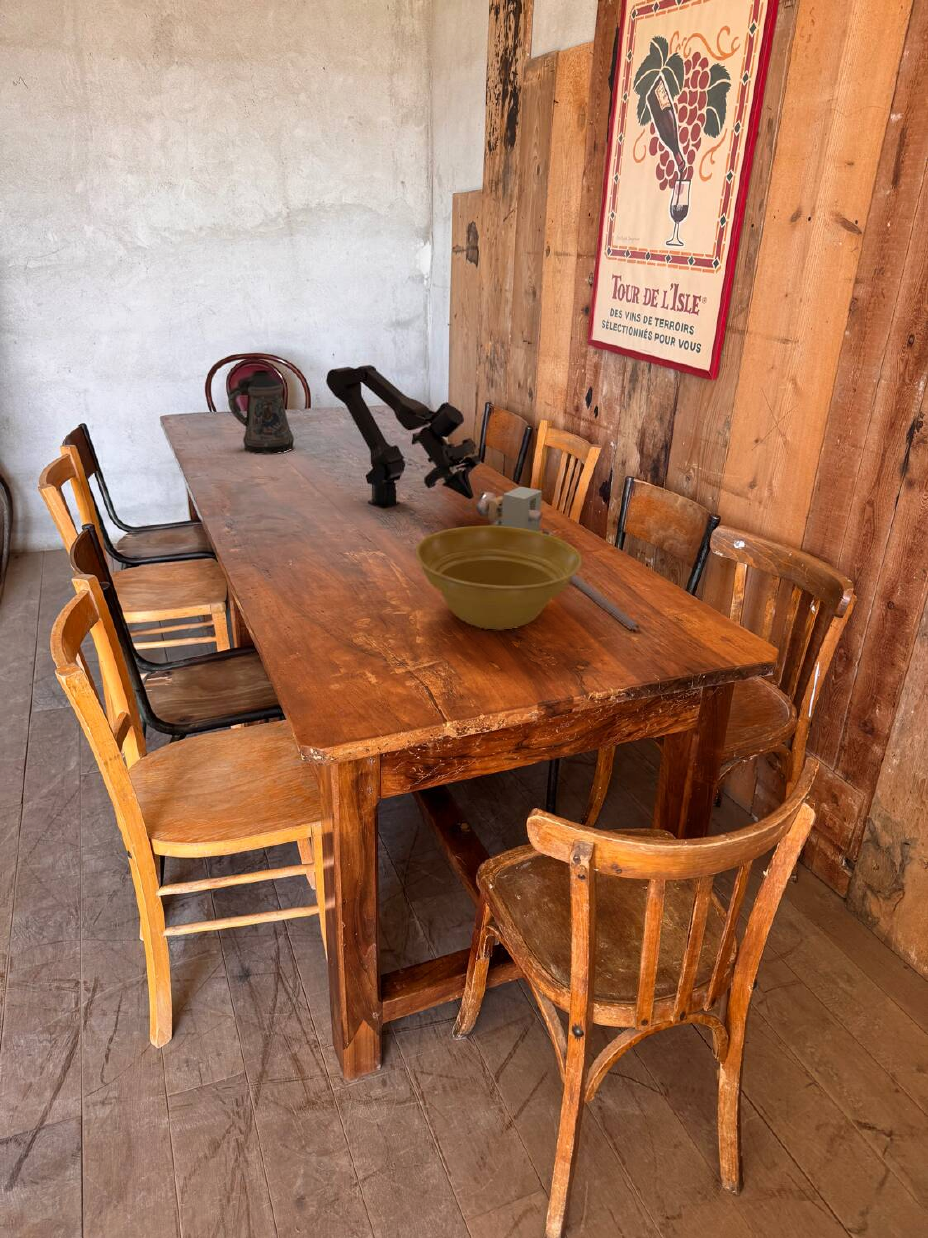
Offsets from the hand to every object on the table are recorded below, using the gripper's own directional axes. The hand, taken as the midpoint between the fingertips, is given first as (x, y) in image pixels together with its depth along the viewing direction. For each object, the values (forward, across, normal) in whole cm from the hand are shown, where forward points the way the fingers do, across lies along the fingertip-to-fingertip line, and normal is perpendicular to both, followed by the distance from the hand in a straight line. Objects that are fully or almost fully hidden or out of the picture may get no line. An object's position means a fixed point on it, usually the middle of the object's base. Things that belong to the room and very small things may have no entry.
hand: (471, 498), depth 214 cm
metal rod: (+40, -25, -29) cm, 55 cm away
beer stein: (-63, +22, +73) cm, 98 cm away
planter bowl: (+29, -44, -19) cm, 56 cm away
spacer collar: (+8, 0, -3) cm, 9 cm away
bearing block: (+15, 0, -5) cm, 16 cm away
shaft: (+11, 0, -6) cm, 12 cm away
